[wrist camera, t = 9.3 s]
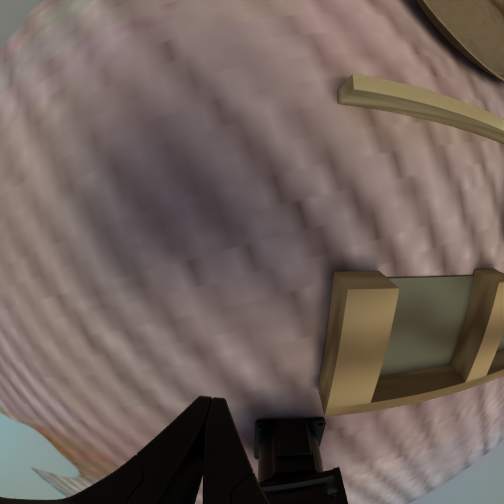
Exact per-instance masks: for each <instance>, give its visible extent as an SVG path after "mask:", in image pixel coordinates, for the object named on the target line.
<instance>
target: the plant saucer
mask: <svg viewBox="0 0 504 504" xmlns="http://www.w3.org/2000/svg"><path fill="white" fill-rule="evenodd" d="M416 1H417V3H418V5H419V6H420V8H421V9H422V11H423V12H424V13H425V15H426V16H427V17H428V19H429V20H430V21H431V22H432V24H433V25H434V26H435V27H436V28H437V29H438V31H439V32H440V33H441V34H442V35H443V36H444V37H445V38H446V39H447V40H448V41H449V42H450V43H451V44H452V45H453V46H454V47H455V48H456V49H457V50H458V51H459V52H460V53H461V54H462V55H464V56H465V57H466V58H467V59H468V60H470V61H471V62H472V63H474V64H475V65H477V66H478V67H480V68H481V69H483V70H484V71H486V72H487V73H489V74H491V75H493V76H494V77H496V78H498V79H500V80H502V81H504V0H416Z"/></svg>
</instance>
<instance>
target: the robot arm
mask: <svg viewBox="0 0 504 504" xmlns="http://www.w3.org/2000/svg"><path fill="white" fill-rule="evenodd" d="M320 422H321V423H320ZM260 424H262V425H260ZM325 424H326V422H325V419H324V418H310V419H283V420H257V421H256V422H255V455H254V457H255V459H259V464H258V481H257V478H256V476H255V474H254V473H253V469H252V467H251V464H250V462H249V460H248V457H247V455H246V452H245V450H244V447H243V445H242V442H241V439H240V437H239V434H238V432H237V429H236V426H235V424H234V421H233V418H232V416H231V413H230V410H229V407H228V404H227V402H226V399H225V398H217V397H214V398H213V399H212V398H211V397H207V396H199V397H198V398H197V399H196V400H195V401H194V402H193V403H192V404H191V405H189V406H188V407H187V408H186V409H185V410H184V411H183V412H182V413H181V414H180V415H179V416H178V417H177V418H176V419H175V420H174V421H173V422H171V423H170V424H169V425H168V426H167V427H166V428H165V429H164V430H163V431H162V432H161V433H159V434H158V435H157V436H156V437H155V438H154V439H153V440H152V441H151V442H149V443H148V444H147V445H146V446H145V447H144V448H143V449H142V450H140V451H139V452H138V453H137V455H134V456H133V457H132V458H131V459H130V460H129V461H127V462H126V463H125V464H124V465H122V466H121V467H120V468H118V469H117V470H116V471H114V472H113V473H111V474H110V475H108V476H107V477H105V478H103V479H102V480H100V481H98V482H97V483H95V484H93V485H91V486H90V487H88V488H86V489H84V490H83V491H81V492H79V493H77V494H75V495H73V496H71V497H68V498H64V499H58V500H27V499H26V500H25V499H10V498H3V497H0V504H195V501H196V497H197V494H198V490H199V487H200V483H201V480H202V476H203V504H348V501H347V496H346V492H345V488H344V484H343V480H342V476H341V472H340V469H339V467H337V468H333V469H332V470H328V471H324V472H323V466H322V460H321V455H320V449H319V446H320V443H321V439H322V436H323V432H324V428H325Z"/></svg>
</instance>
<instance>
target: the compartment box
mask: <svg viewBox="0 0 504 504" xmlns="http://www.w3.org/2000/svg"><path fill="white" fill-rule="evenodd" d="M338 104H343V105H351V106H358V107H365V108H372V109H378V110H384V111H389V112H394V113H399V114H404V115H409V116H414V117H418V118H422V119H426V120H430V121H434V122H438V123H442V124H446V125H449V126H453V127H456V128H459V129H463V130H466V131H469V132H472V133H475V134H478V135H481V136H484V137H487V138H489V139H492V140H495V141H497V142H500V143H503V144H504V119H503V118H501V117H499V116H497V115H494V114H492V113H490V112H488V111H485V110H483V109H480V108H478V107H475V106H473V105H470V104H468V103H465V102H462V101H459V100H457V99H454V98H451V97H448V96H445V95H442V94H438V93H435V92H432V91H428V90H425V89H421V88H418V87H414V86H410V85H406V84H402V83H398V82H394V81H389V80H384V79H380V78H374V77H369V76H363V75H357V74H352V75H351V76H350V77H349V78H348V80H347V81H346V82H345V83H344V84H343V85H342V86H341V88H340V89H339V90H338ZM502 376H504V274H503V273H501V272H499V271H497V270H495V269H480V270H474V275H465V276H436V277H392V278H387V277H386V276H384V275H383V274H382V273H381V272H380V271H334V275H333V285H332V295H331V304H330V312H329V320H328V328H327V335H326V342H325V349H324V356H323V362H322V368H321V374H320V380H319V386H318V390H319V394H320V398H321V403H322V407H323V411H324V415H325V416H334V415H344V414H353V413H361V412H368V411H375V410H381V409H387V408H393V407H398V406H403V405H408V404H413V403H417V402H422V401H426V400H430V399H434V398H438V397H442V396H445V395H449V394H452V393H456V392H459V391H462V390H466V389H469V388H472V387H475V386H478V385H481V384H484V383H486V382H489V381H492V380H495V379H497V378H500V377H502Z"/></svg>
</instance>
